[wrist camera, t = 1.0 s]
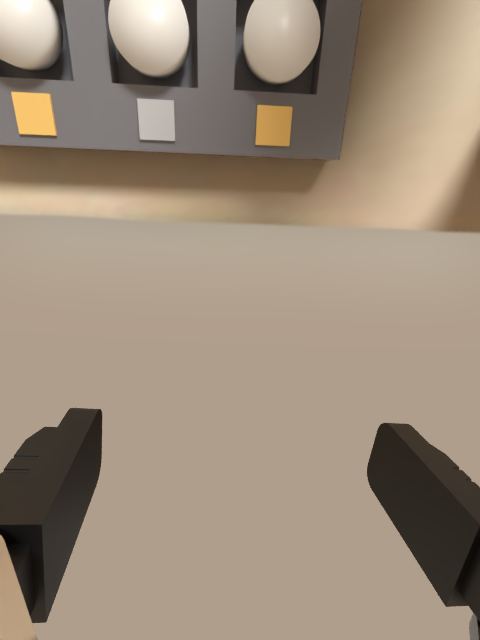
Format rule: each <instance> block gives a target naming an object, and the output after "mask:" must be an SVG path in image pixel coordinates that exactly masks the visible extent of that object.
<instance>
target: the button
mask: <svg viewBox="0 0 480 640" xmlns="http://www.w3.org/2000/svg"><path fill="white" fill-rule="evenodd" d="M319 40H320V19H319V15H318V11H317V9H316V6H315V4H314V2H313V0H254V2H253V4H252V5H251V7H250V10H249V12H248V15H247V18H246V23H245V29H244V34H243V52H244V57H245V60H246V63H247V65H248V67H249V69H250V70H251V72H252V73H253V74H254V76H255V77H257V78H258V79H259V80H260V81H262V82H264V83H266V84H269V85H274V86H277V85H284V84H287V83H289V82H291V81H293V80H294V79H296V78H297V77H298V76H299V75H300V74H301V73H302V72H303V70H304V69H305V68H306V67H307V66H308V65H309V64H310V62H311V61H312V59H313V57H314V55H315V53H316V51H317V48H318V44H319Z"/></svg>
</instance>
